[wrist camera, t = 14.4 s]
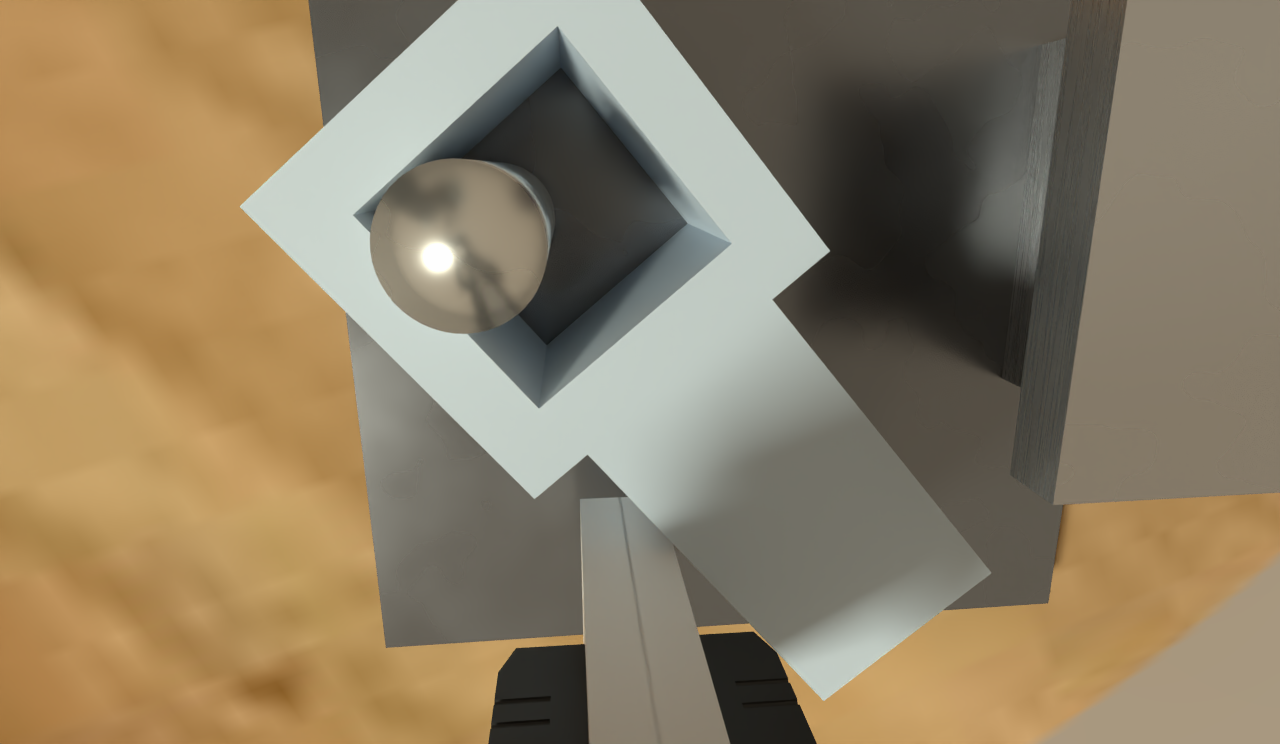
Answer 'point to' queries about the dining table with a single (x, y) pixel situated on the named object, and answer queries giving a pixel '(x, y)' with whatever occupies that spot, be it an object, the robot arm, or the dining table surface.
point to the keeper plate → (895, 273)
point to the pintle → (462, 243)
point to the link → (645, 334)
